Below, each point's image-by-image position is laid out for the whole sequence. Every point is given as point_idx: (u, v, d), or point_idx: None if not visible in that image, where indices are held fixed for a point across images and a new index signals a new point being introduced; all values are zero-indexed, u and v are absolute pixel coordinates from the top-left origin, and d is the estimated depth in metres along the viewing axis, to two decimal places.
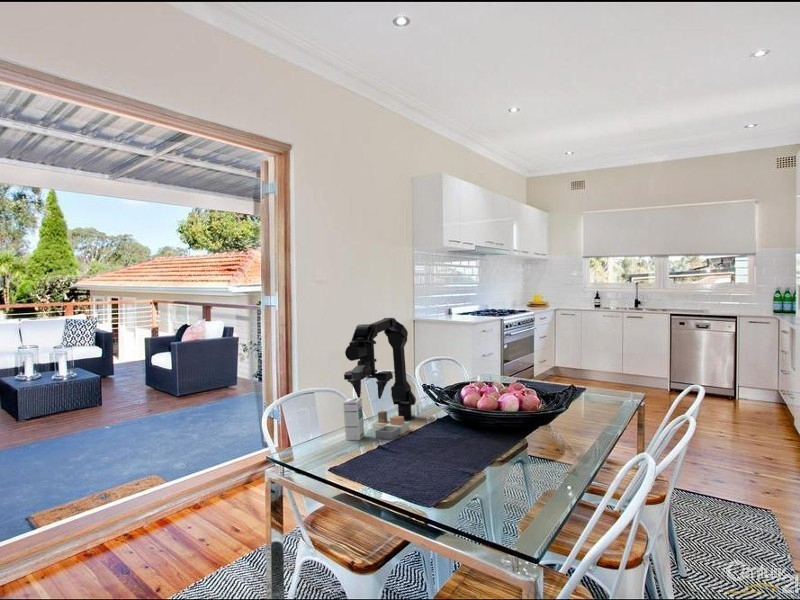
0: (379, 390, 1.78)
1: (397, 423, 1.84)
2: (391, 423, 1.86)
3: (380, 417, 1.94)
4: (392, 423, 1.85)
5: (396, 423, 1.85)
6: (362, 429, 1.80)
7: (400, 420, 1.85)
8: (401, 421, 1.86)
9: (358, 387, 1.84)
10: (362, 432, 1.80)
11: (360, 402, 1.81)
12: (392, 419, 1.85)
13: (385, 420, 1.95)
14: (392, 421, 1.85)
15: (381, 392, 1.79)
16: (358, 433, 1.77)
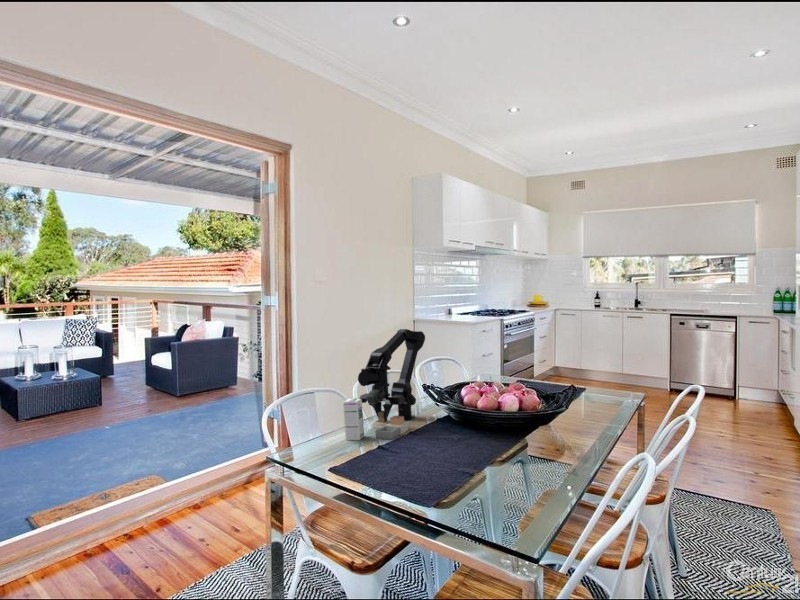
0: (385, 412, 1.94)
1: (397, 423, 1.84)
2: (391, 423, 1.86)
3: (380, 416, 1.94)
4: (392, 423, 1.85)
5: (396, 423, 1.85)
6: (362, 429, 1.80)
7: (400, 420, 1.85)
8: (401, 421, 1.86)
9: (379, 410, 1.96)
10: (362, 432, 1.80)
11: (360, 402, 1.81)
12: (392, 419, 1.85)
13: None
14: (392, 421, 1.85)
15: (387, 414, 1.95)
16: (358, 433, 1.77)
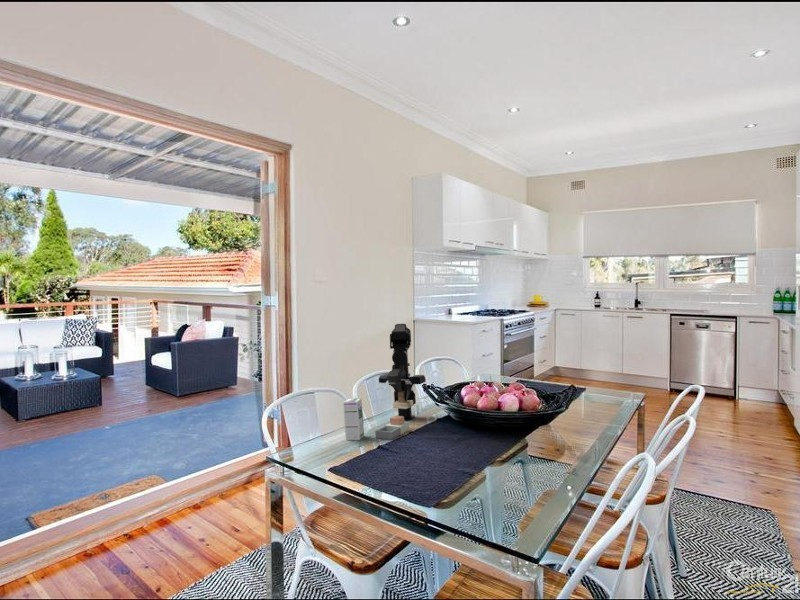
0: (406, 392, 1.90)
1: (397, 423, 1.84)
2: (391, 423, 1.86)
3: (400, 397, 1.91)
4: (392, 423, 1.85)
5: (396, 423, 1.85)
6: (362, 429, 1.80)
7: (400, 420, 1.85)
8: (401, 421, 1.86)
9: (399, 390, 1.93)
10: (362, 432, 1.80)
11: (360, 402, 1.81)
12: (392, 419, 1.85)
13: None
14: (392, 421, 1.85)
15: (407, 394, 1.91)
16: (358, 433, 1.77)
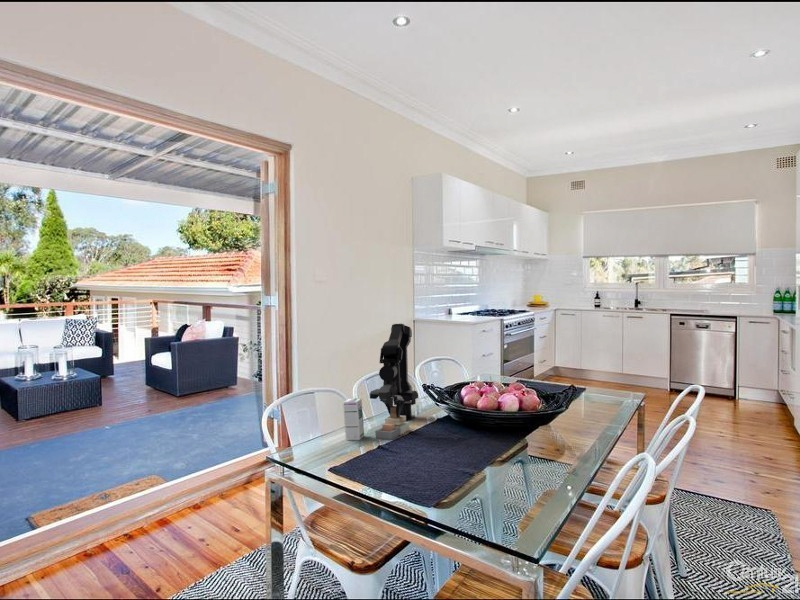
0: (398, 409, 1.83)
1: None
2: None
3: (392, 412, 1.84)
4: None
5: None
6: (362, 429, 1.80)
7: None
8: (393, 429, 1.80)
9: (390, 406, 1.86)
10: (362, 432, 1.80)
11: (360, 402, 1.81)
12: None
13: None
14: None
15: (399, 411, 1.84)
16: (358, 433, 1.77)
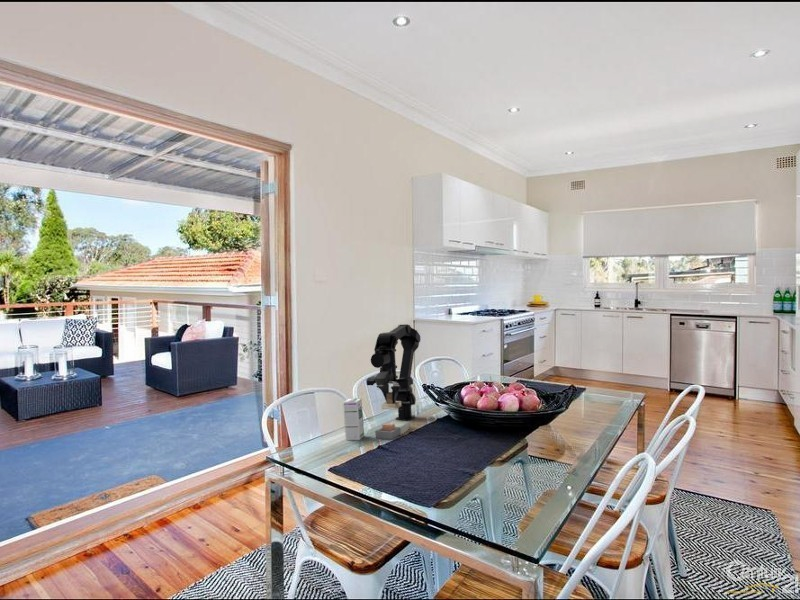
0: (393, 394, 1.92)
1: None
2: None
3: (389, 398, 1.93)
4: None
5: None
6: (362, 429, 1.80)
7: None
8: (393, 429, 1.80)
9: (386, 392, 1.94)
10: (362, 432, 1.80)
11: (360, 402, 1.81)
12: None
13: None
14: None
15: (395, 396, 1.93)
16: (358, 433, 1.77)
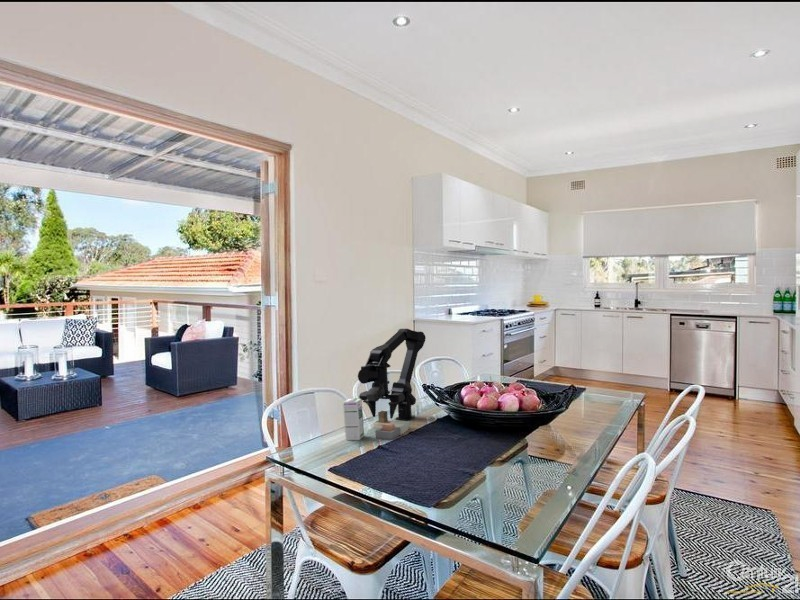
0: (391, 410, 1.92)
1: None
2: None
3: (380, 417, 1.95)
4: None
5: None
6: (362, 429, 1.80)
7: None
8: (393, 429, 1.80)
9: (373, 407, 1.98)
10: (362, 432, 1.80)
11: (360, 402, 1.81)
12: None
13: (385, 420, 1.95)
14: None
15: (393, 412, 1.93)
16: (358, 433, 1.77)
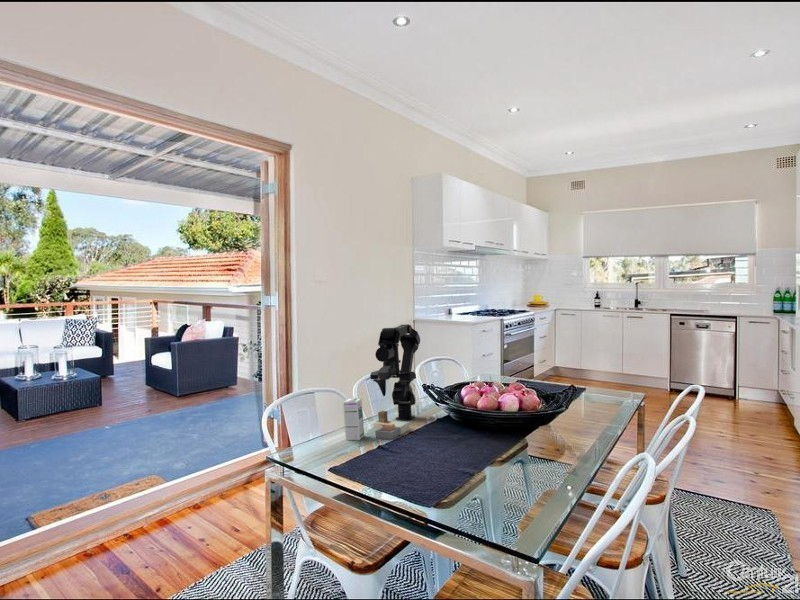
0: (403, 389, 1.91)
1: None
2: None
3: (380, 417, 1.95)
4: None
5: None
6: (362, 429, 1.80)
7: None
8: (393, 429, 1.80)
9: (383, 386, 1.97)
10: (362, 432, 1.80)
11: (360, 402, 1.81)
12: None
13: (385, 420, 1.95)
14: None
15: (405, 391, 1.92)
16: (358, 433, 1.77)
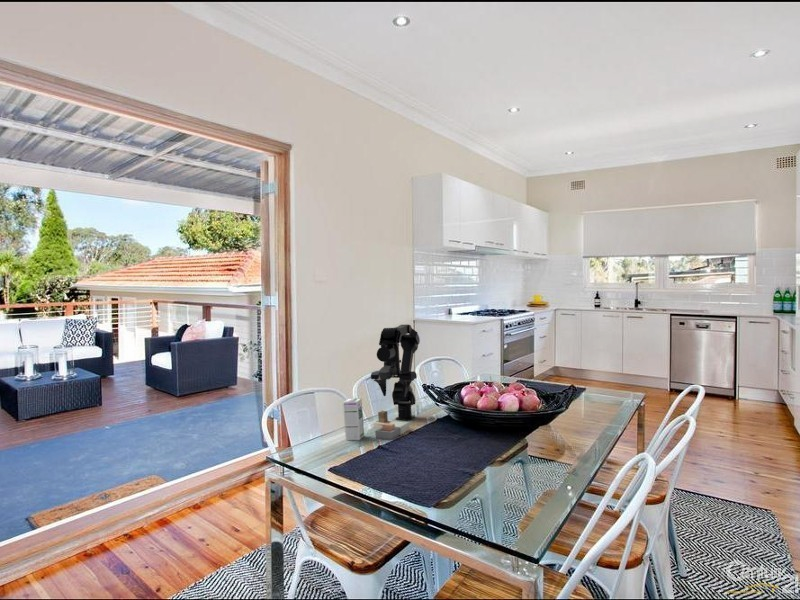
0: (404, 389, 1.92)
1: None
2: None
3: (380, 417, 1.95)
4: None
5: None
6: (362, 429, 1.80)
7: None
8: (393, 429, 1.80)
9: (384, 386, 1.97)
10: (362, 432, 1.80)
11: (360, 402, 1.81)
12: None
13: (385, 420, 1.95)
14: None
15: (406, 391, 1.93)
16: (358, 433, 1.77)
